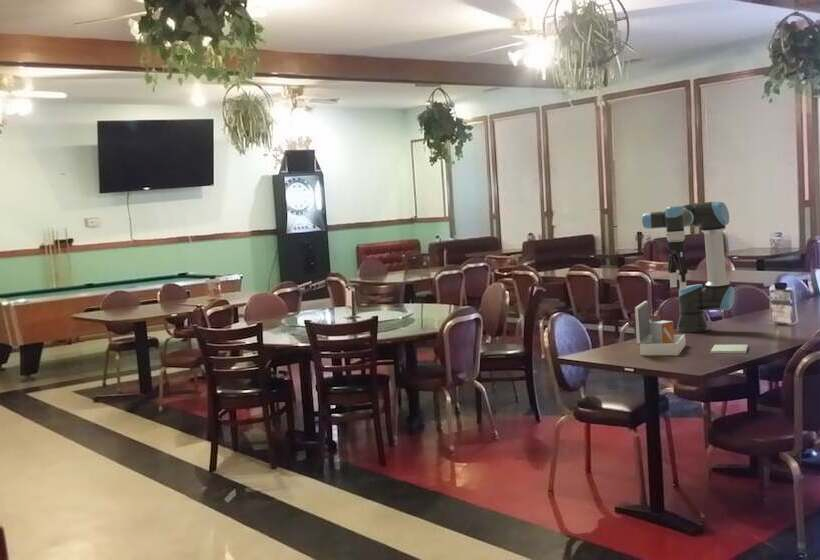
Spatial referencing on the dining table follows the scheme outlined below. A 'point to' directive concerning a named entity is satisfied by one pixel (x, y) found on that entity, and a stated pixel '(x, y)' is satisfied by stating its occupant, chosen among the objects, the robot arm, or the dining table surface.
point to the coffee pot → (655, 318)
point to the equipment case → (646, 339)
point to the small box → (662, 332)
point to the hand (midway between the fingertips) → (678, 288)
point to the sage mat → (729, 349)
